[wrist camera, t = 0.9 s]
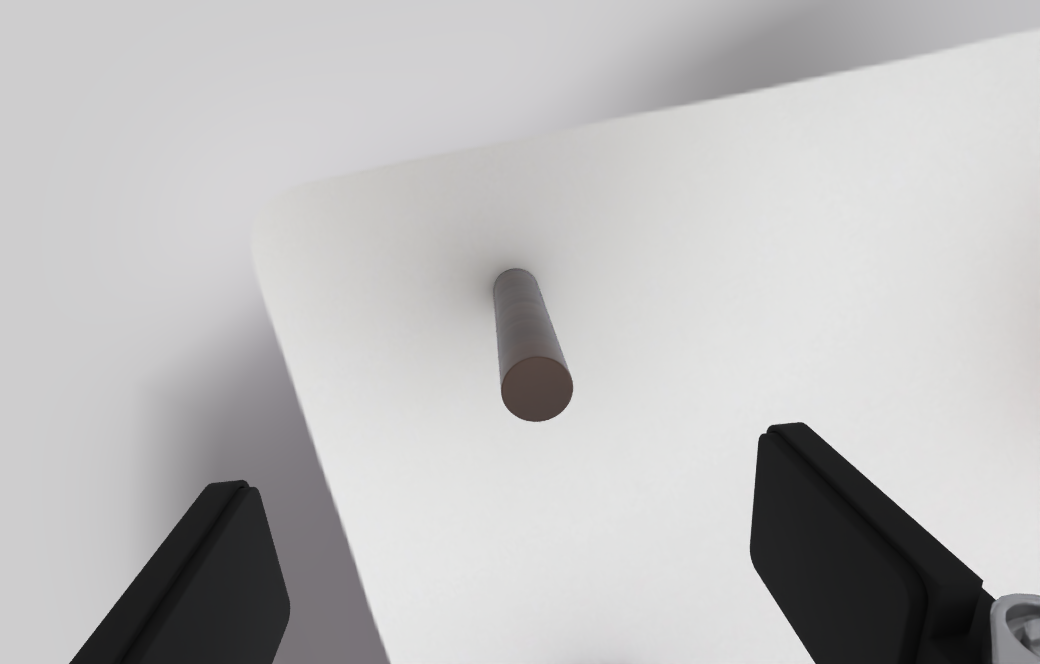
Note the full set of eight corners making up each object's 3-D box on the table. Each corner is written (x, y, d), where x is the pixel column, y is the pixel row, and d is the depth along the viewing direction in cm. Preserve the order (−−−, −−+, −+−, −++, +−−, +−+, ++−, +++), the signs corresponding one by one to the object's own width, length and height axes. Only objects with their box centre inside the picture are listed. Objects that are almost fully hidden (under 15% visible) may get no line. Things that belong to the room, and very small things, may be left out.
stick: (491, 270, 29) (497, 361, 18) (536, 266, 29) (571, 353, 18) (495, 314, 30) (504, 425, 19) (539, 309, 30) (575, 418, 19)
